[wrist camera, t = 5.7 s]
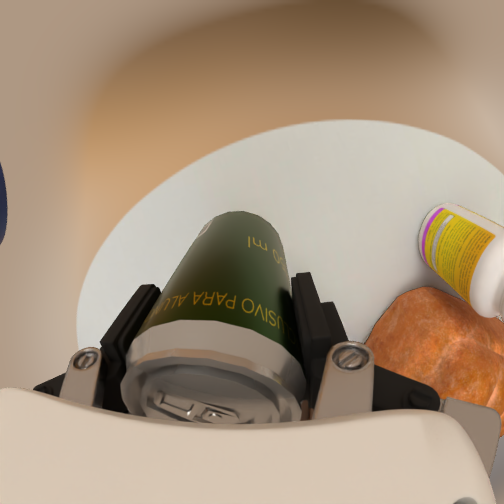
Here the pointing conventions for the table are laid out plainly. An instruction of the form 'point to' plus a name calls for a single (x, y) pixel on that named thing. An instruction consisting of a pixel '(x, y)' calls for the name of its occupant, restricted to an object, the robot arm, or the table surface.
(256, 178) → the table surface
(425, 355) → the bread
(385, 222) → the table surface
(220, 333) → the beer can
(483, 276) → the supplement bottle
